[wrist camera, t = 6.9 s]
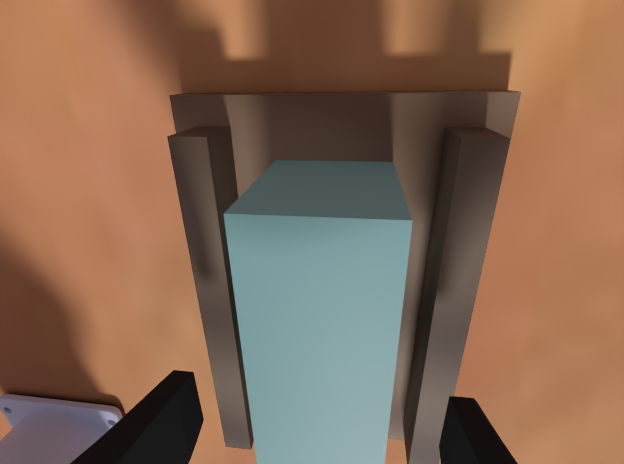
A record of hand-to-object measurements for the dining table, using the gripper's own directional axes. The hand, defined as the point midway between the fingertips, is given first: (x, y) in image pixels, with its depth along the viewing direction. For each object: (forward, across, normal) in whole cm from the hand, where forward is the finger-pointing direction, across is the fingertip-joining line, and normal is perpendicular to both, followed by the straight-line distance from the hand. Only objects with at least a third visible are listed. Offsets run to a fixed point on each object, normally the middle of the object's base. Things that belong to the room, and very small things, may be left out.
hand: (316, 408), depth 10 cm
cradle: (+6, 0, 0) cm, 6 cm away
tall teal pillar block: (+5, 0, 0) cm, 5 cm away
